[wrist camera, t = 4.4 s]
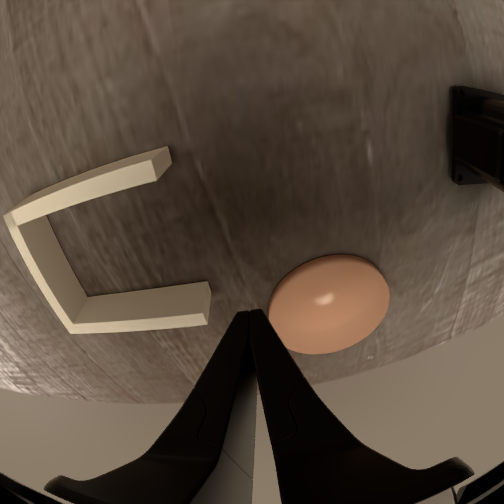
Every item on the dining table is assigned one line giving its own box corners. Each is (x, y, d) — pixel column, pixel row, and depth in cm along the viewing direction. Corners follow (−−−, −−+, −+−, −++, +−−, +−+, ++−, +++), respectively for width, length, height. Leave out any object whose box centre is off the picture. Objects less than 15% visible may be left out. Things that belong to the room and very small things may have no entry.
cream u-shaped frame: (167, 145, 14) (151, 159, 11) (211, 292, 19) (207, 324, 17) (28, 195, 15) (2, 215, 12) (84, 307, 20) (70, 333, 17)
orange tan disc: (391, 244, 17) (397, 252, 17) (377, 332, 22) (380, 341, 21) (259, 266, 18) (260, 276, 17) (275, 352, 23) (276, 361, 22)
